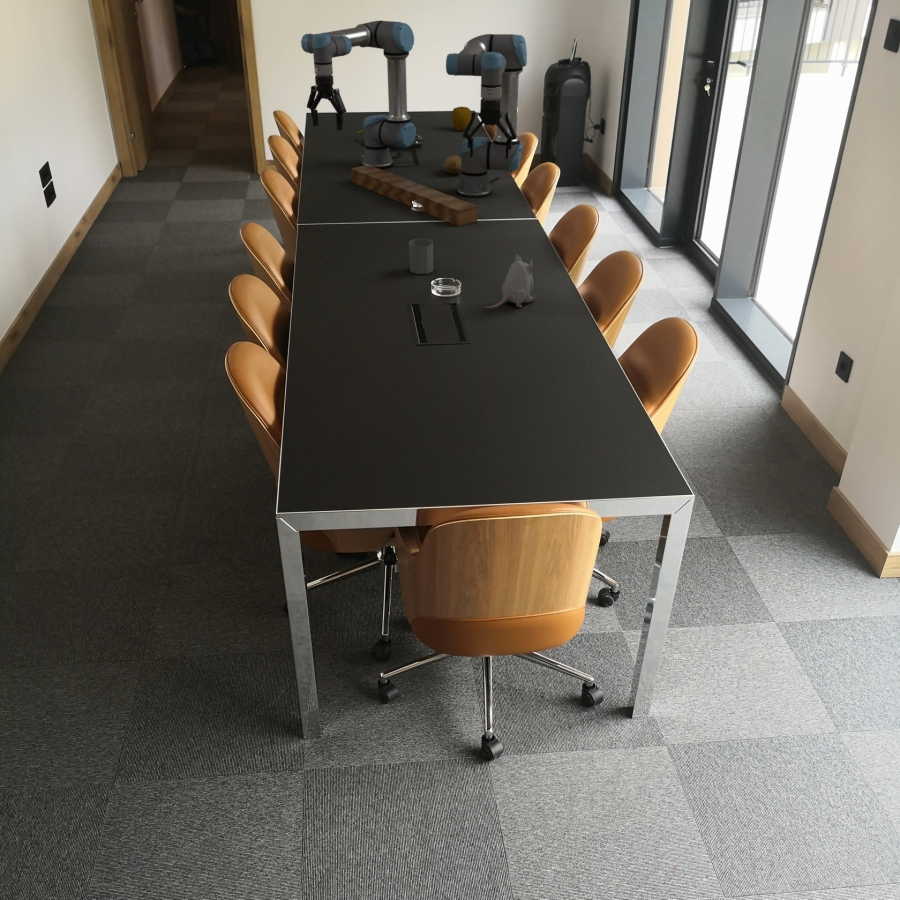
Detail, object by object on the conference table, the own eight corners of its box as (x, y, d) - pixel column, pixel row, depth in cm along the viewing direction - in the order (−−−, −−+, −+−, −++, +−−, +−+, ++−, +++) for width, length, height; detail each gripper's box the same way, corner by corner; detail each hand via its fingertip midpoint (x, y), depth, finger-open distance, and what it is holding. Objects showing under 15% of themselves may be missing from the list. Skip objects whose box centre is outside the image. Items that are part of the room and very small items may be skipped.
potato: (462, 169, 421) (462, 152, 416) (464, 177, 409) (465, 160, 405) (442, 169, 420) (442, 152, 416) (444, 177, 408) (444, 160, 404)
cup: (409, 265, 311) (408, 238, 306) (432, 265, 312) (431, 238, 307) (410, 274, 304) (409, 246, 299) (433, 273, 305) (433, 246, 299)
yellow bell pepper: (471, 132, 486) (471, 108, 479) (451, 132, 486) (451, 108, 479) (470, 128, 495) (471, 104, 488) (452, 128, 495) (452, 104, 488)
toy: (541, 300, 285) (543, 256, 277) (494, 322, 270) (495, 276, 262) (519, 293, 290) (521, 249, 282) (472, 313, 276) (473, 269, 268)
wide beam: (352, 182, 402) (351, 168, 399) (369, 178, 407) (369, 164, 404) (458, 226, 349) (458, 210, 345) (477, 221, 354) (477, 206, 350)
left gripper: (295, 73, 364) (300, 125, 376) (340, 79, 352) (344, 133, 364) (307, 70, 369) (311, 122, 381) (352, 76, 358) (355, 130, 369)
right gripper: (455, 99, 318) (455, 158, 330) (523, 101, 315) (520, 161, 326) (459, 95, 324) (458, 153, 336) (525, 97, 321) (522, 156, 332)
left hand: (327, 128), depth 372 cm, fingers open, 13 cm apart
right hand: (489, 157), depth 331 cm, fingers open, 13 cm apart
